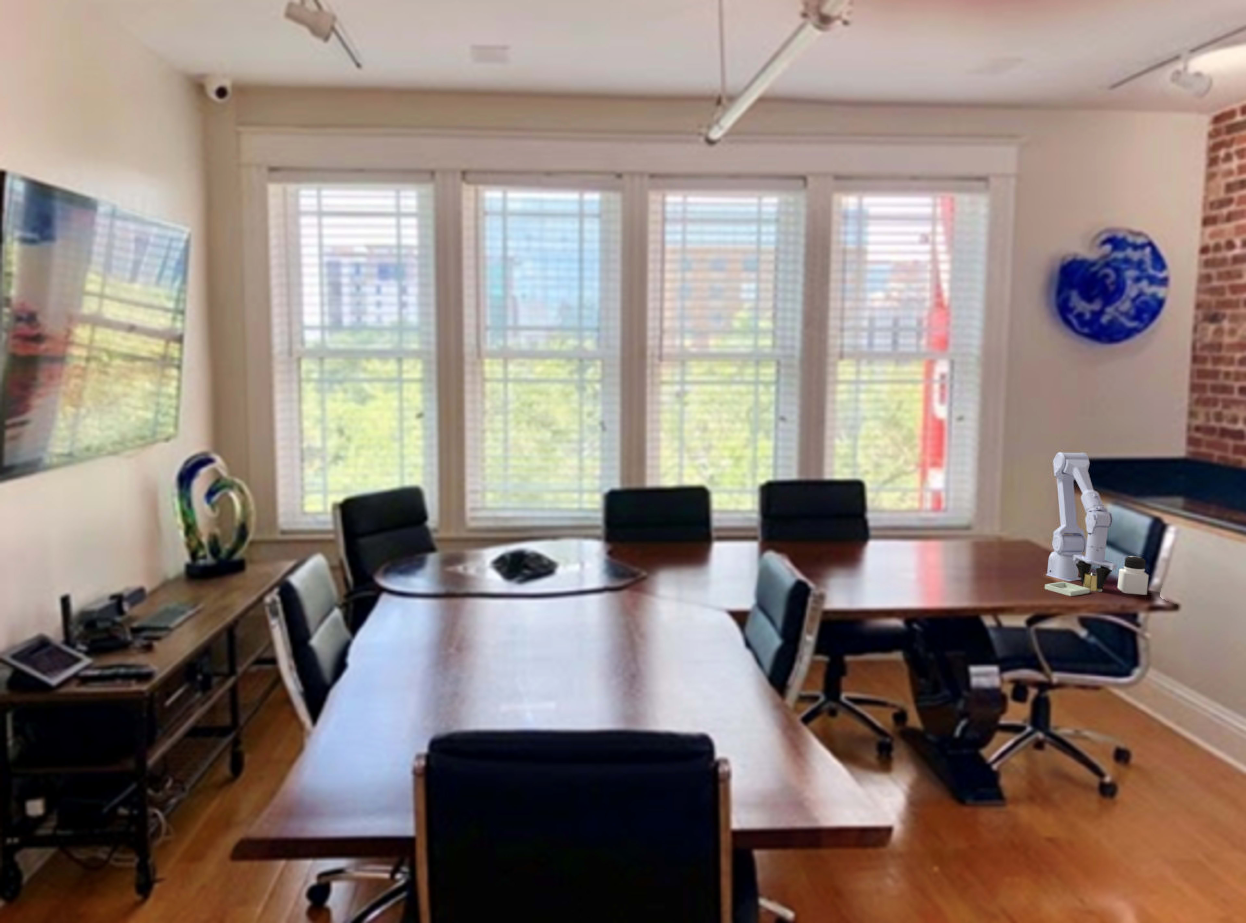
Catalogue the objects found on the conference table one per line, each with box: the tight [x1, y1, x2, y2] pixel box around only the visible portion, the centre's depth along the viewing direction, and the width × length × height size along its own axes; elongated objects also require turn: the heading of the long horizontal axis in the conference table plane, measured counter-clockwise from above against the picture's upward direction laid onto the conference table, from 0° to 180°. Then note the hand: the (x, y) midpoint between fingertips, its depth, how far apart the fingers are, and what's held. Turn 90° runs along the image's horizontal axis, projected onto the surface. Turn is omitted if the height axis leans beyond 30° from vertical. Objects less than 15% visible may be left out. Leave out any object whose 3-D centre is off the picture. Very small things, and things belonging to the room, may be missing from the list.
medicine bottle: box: [1117, 555, 1150, 596], centre depth 319 cm, size 7×7×12 cm
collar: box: [1082, 572, 1102, 592], centre depth 321 cm, size 5×6×5 cm
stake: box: [1090, 572, 1103, 593], centre depth 321 cm, size 6×6×6 cm
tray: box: [1044, 581, 1091, 597], centre depth 318 cm, size 10×10×2 cm
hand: (1092, 586), depth 321 cm, fingers closed on collar, 5 cm apart
